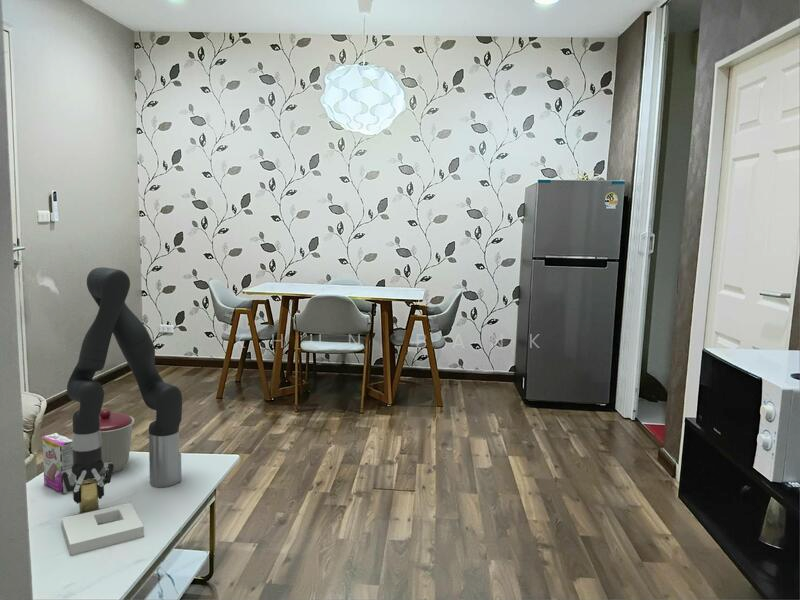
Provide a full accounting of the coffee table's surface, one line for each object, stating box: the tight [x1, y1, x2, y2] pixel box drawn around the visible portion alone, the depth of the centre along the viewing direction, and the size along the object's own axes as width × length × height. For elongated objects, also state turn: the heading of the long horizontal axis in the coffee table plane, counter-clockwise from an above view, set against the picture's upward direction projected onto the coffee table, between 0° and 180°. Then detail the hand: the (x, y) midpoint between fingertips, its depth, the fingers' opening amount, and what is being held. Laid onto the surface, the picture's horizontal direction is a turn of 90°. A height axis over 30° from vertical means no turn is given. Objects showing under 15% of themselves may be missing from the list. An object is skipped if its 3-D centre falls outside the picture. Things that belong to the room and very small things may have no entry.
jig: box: [61, 502, 145, 556], centre depth 170 cm, size 18×16×3 cm
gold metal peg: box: [78, 478, 100, 514], centre depth 181 cm, size 5×5×9 cm
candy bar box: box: [41, 432, 76, 495], centre depth 194 cm, size 11×5×16 cm, turn 58°
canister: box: [99, 408, 135, 475], centre depth 209 cm, size 18×18×21 cm
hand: (88, 499), depth 181 cm, fingers open, 5 cm apart
